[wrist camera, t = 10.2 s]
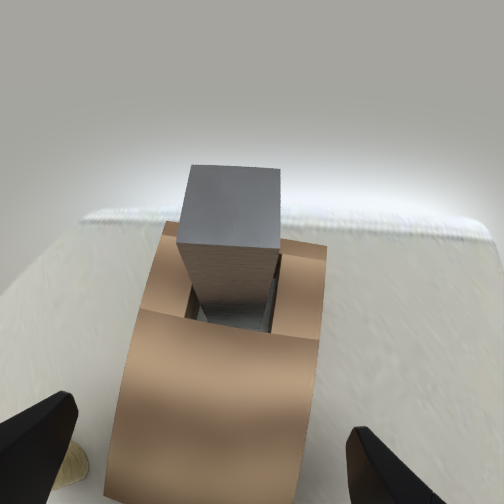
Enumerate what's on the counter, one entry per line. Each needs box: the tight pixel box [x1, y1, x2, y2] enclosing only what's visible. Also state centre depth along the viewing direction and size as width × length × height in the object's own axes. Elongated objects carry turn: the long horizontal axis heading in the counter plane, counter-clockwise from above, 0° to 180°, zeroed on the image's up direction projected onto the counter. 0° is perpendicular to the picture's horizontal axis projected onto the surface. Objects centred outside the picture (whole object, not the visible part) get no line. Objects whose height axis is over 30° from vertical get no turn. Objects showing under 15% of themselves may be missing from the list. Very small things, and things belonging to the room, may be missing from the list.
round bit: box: [51, 440, 89, 491], centre depth 12 cm, size 4×4×10 cm
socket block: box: [104, 221, 327, 504], centre depth 18 cm, size 19×11×4 cm, turn 171°
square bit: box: [176, 165, 280, 328], centre depth 17 cm, size 4×4×12 cm
